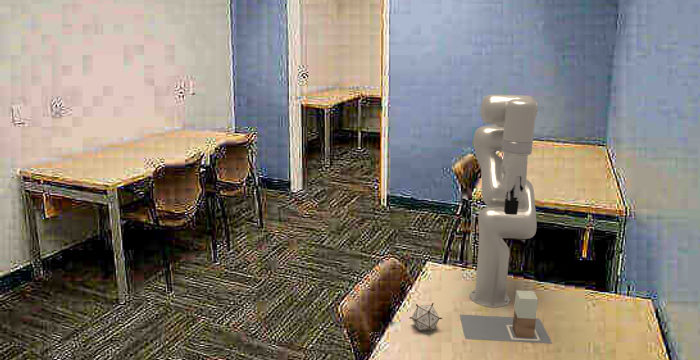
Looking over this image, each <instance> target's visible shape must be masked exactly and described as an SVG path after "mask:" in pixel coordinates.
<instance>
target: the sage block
mask: <svg viewBox="0 0 700 360" xmlns="http://www.w3.org/2000/svg"><path fill="white" fill-rule="evenodd" d="M538 303H539V299H538V297H537V295H536V292H535V291H534V290H515V298H514V305H513V306H514V307H513V309H514V310H515V313H516V315H517V318H529V319H536V318H537V313H538V312H537V310H538ZM514 310H513V311H514Z"/></svg>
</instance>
